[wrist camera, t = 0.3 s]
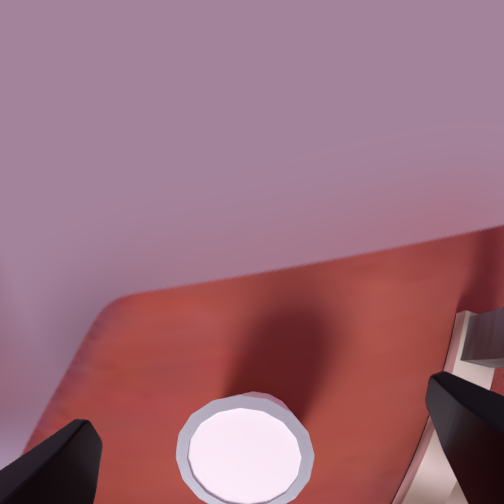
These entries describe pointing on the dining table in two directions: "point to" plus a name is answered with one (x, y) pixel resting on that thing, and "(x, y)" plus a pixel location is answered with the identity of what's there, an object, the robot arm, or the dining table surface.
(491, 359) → the tray with upright post
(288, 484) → the shot glass
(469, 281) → the dining table surface
